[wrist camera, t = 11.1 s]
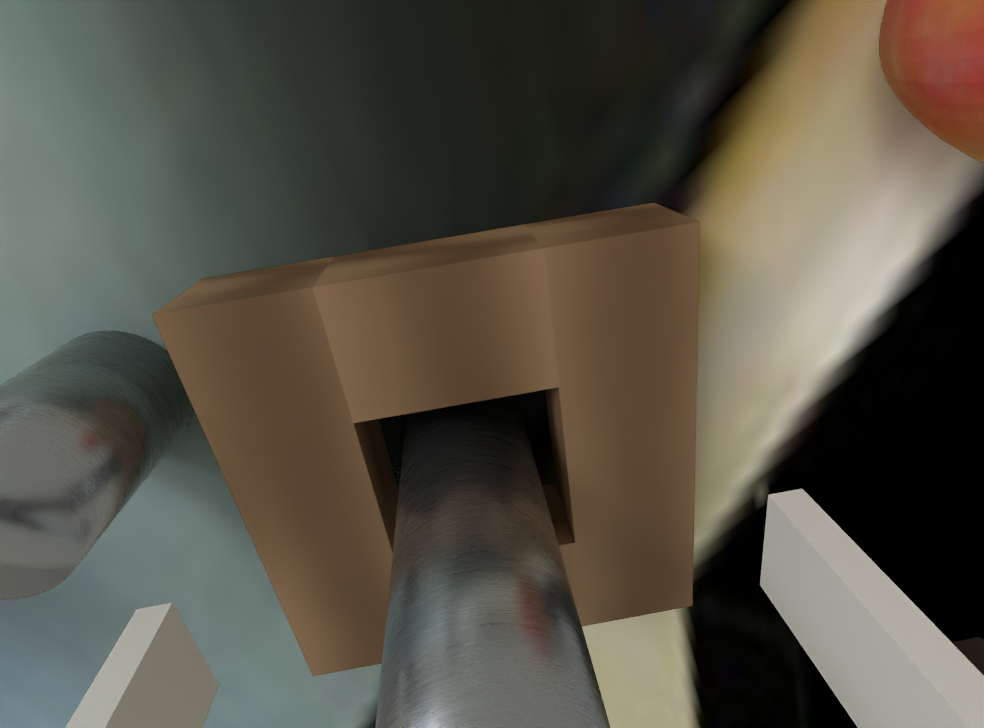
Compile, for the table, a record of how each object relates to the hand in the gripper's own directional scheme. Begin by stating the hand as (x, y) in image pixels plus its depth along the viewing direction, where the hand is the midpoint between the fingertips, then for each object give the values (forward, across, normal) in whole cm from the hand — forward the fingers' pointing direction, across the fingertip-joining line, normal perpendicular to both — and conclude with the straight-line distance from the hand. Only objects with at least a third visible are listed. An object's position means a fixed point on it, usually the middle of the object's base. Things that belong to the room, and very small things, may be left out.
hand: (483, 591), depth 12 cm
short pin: (+7, -10, +4) cm, 13 cm away
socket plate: (+7, 0, 0) cm, 7 cm away
